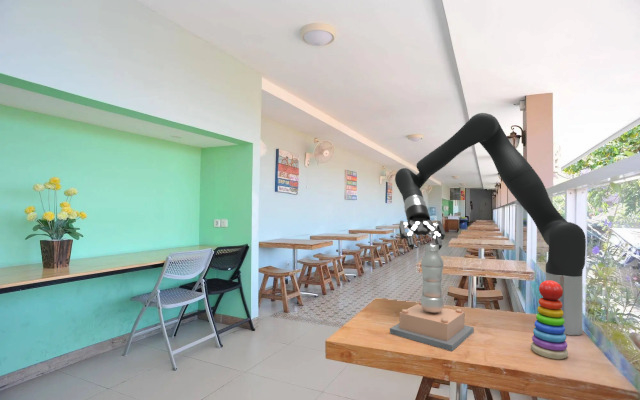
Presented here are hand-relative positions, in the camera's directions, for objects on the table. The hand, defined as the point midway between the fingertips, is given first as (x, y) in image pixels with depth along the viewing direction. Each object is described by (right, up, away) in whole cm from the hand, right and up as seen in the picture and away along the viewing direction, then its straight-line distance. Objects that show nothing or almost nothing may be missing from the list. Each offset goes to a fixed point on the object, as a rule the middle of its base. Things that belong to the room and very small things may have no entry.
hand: (426, 247), depth 107 cm
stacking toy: (+25, -24, -20) cm, 40 cm away
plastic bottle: (0, -18, -6) cm, 19 cm away
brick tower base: (0, -24, -7) cm, 25 cm away
